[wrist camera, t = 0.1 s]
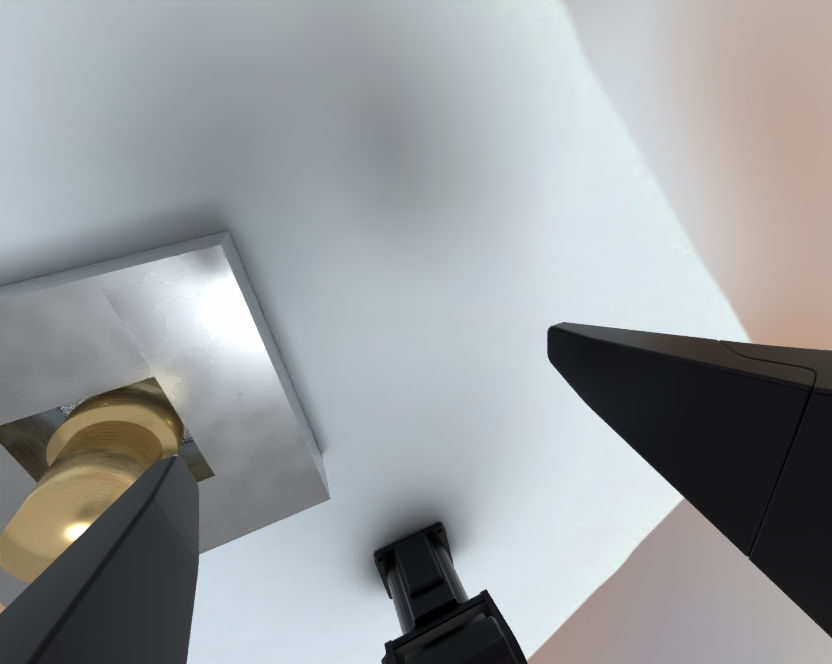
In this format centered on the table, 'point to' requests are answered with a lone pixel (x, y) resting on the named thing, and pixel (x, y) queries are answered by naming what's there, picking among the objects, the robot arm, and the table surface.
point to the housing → (160, 380)
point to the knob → (89, 471)
